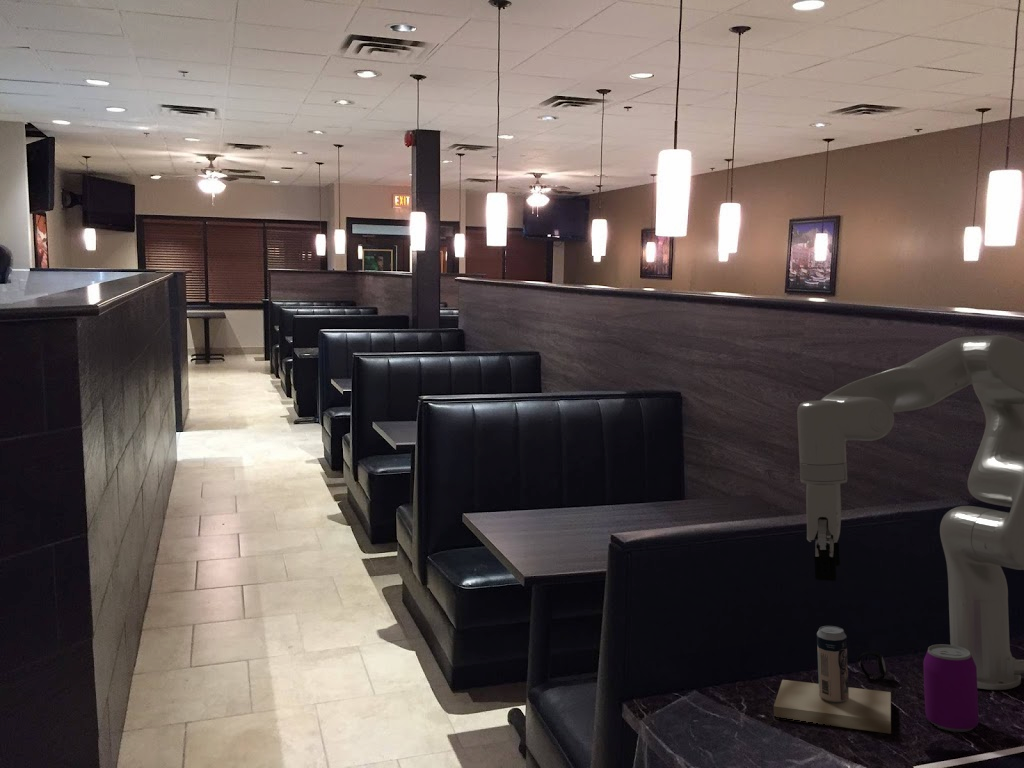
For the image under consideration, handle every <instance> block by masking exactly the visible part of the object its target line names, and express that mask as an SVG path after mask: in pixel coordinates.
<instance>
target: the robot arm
mask: <svg viewBox="0 0 1024 768" xmlns="http://www.w3.org/2000/svg"><path fill="white" fill-rule="evenodd" d="M970 385H972V388H973V390H974V393H975V395H976V397H977V398H978V400H979V402H980V405H981V407H982V411H983V413H984V417H985V426H984V427H985V428H984V432H983V435H982V439H981V442H980V445H979V447H978V450H977V452H976V455H975V456H974V457H975V458H974V460H973V462H972V465H971V468H970V470H969V471H970V472H969V474H968V479H967V489H968V492H969V494H970V495H971V496H972V497H973V498H975V499H976V500H978V501H981V502H984V503H987V504H991V505H996V506H1001V507H1006V508H1010V511H1009V512H1008V511H1007V512H1006V511H1002V510H996V509H994V508H993V509H992V508H986V507H981V506H972V505H960V506H956V507H954V508H952V509H950V510H948V511H947V512H945V514H944V515H943V517H942V519H941V521H940V525H939V536H940V541H941V546H942V549H943V553H944V557H945V561H946V562H945V563H946V571H947V584H948V585H947V587H948V590H947V591H948V611H949V614H948V616H949V641H950V644H949V645H954V646H959V647H962V648H965V649H967V650H969V651H970V652H971V656H972V658H973V660H974V662H975V665H976V667H977V689H978V690H979V689H980V690H990V691H1001V690H1004V691H1005V690H1010V689H1014V688H1017V687H1019V686H1020V685H1021V683H1022V676H1021V674H1024V659H1016V657H1013V655H1012V652H1011V648H1010V624H1009V623H1010V621H1009V619H1010V618H1009V589H1008V582H1007V578H1006V575H1005V573H1004V570H1003V567H1004V568H1008V569H1013V570H1016V571H1017V570H1018V571H1019V570H1020V571H1022V570H1023V571H1024V341H1021V340H1019V339H1016V338H1014V337H1010V336H1007V335H999V334H995V335H994V334H993V335H975V336H973V335H972V336H961V337H958V338H953V339H951V340H949V341H947V342H944V343H943V344H941V345H939V346H937V347H935V348H933V349H931V350H930V351H928V352H926V353H924V354H922V355H921V356H918V357H917V358H914V359H913V360H911V361H909V362H907V363H904V364H903V365H900V366H896V367H893V368H890V369H887V370H884V371H882V372H881V371H880V372H879V373H876V374H873V375H870V376H869V375H868V376H866V377H863V378H860V379H858V380H854V381H852V382H850V383H847V384H846V385H844V386H841V387H839V388H836V390H834V391H831V392H830V393H829V394H826V395H824V396H823V397H822V398H821V399H820V400H818V399H817V400H808V401H804V402H801V403H800V404H799V405H798V407H797V410H796V411H797V412H796V413H797V414H796V415H797V436H798V438H797V439H798V454H799V456H798V458H799V475H800V476H799V478H800V482H801V483H802V484H806V489H805V490H806V491H805V492H806V493H805V499H806V500H805V501H806V502H805V503H806V504H805V507H806V510H805V511H806V540H807V541H808V542H809V543H812V541H814V540H815V542H814V543H815V544H814V545H815V546H814V547H815V549H814V551H815V553H814V554H815V555H814V575H815V576H814V577H815V580H817V581H829V582H830V581H831V582H835V581H837V567H838V566H840V565H841V562H840V543H839V542H838V541H839V538H840V535H841V522H842V498H841V494H842V493H841V484H845V483H848V468H847V467H848V464H847V462H848V461H847V445H846V444H847V443H846V442H847V441H864V442H867V441H868V442H871V441H877V440H879V439H882V438H884V437H885V436H886V435H888V434H889V433H890V431H891V430H892V428H893V426H894V423H895V415H894V413H897V412H898V413H900V412H910V411H915V410H920V409H924V408H927V407H931V406H933V405H935V404H937V403H938V402H940V401H942V400H944V399H946V398H948V397H950V396H951V395H953V394H955V393H957V392H959V391H960V390H963V389H964V388H966V387H967V386H970Z"/></svg>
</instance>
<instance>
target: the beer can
mask: <svg viewBox="0 0 1024 768" xmlns="http://www.w3.org/2000/svg"><path fill="white" fill-rule="evenodd" d="M847 637H848V636H847V634H846V633H845V630H844V629H843V628H841V627H839V626H834V625H824V626H820V627H819V628H818V631H817V632H816V645H817V647H816V648H817V650H816V651H817V672H818V675H817V676H818V684H819V696H820V697H821V698H823V699H824V700H826V701H828V702H832V703H841V702H844V701H846V700H847V699H848V698H849V690H848V687H849V670H848V669H849V668H848V667H849V666H848V642H847Z"/></svg>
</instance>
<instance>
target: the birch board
mask: <svg viewBox="0 0 1024 768" xmlns="http://www.w3.org/2000/svg"><path fill="white" fill-rule="evenodd" d="M848 690H849V698H848V699H847V700H846V701H844V702H841V703H832V702H828V701H826V700H824V699H823V698H821V697H820V696H819V683H816V682H815V683H814V682H806V681H797V680H789V679H782V680H781V682H780V686H779V689H778V693H777V695H776V698H775V700H774V705H773V717H774V716H776V717H781V718H787V719H793V720H792V721H794V720H800V721H799V722H801V721H806V722H805V723H808V722H813V723H812V724H816V723H818V725H823V724H825V725H824V726H830V725H831V726H833V727H840V728H845V729H854V730H861V731H868V732H874V733H875V732H876V733H882V734H888V735H889V734H892V693H891V691H883V690H877V689H876V690H874V689H865V688H860V687H859V688H857V687H849V686H848Z"/></svg>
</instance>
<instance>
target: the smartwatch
mask: <svg viewBox="0 0 1024 768" xmlns="http://www.w3.org/2000/svg"><path fill="white" fill-rule="evenodd" d="M867 655H871V656H872V655H873V656H875V657H876V663H877V666H878V670H879V673H880V675H877V676H878V679H879V680H882V679H883V678H884V677H885V676H886V674H888V673H887V672H888V671H887V664H886V661H885V658H884V656H883V655H882V654H881V653H880V652H879V651H877V650H866V651H864V652H863V653H861V654H860V655H858V658H857V664H858V666H859V667H860V668H861V670H862V673H863V674H864V676H866V678H867V679H869V675H871V674H869V673H868V671H867V670H866V669H865V666H864V664H863V662H862V657H864V656H867Z"/></svg>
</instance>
